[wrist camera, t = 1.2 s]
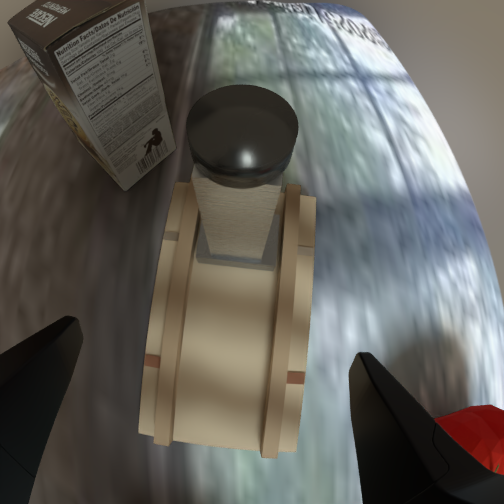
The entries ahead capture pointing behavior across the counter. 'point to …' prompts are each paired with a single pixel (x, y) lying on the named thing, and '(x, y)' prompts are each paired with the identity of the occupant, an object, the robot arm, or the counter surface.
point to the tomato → (478, 433)
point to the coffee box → (101, 79)
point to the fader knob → (240, 173)
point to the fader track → (229, 336)
